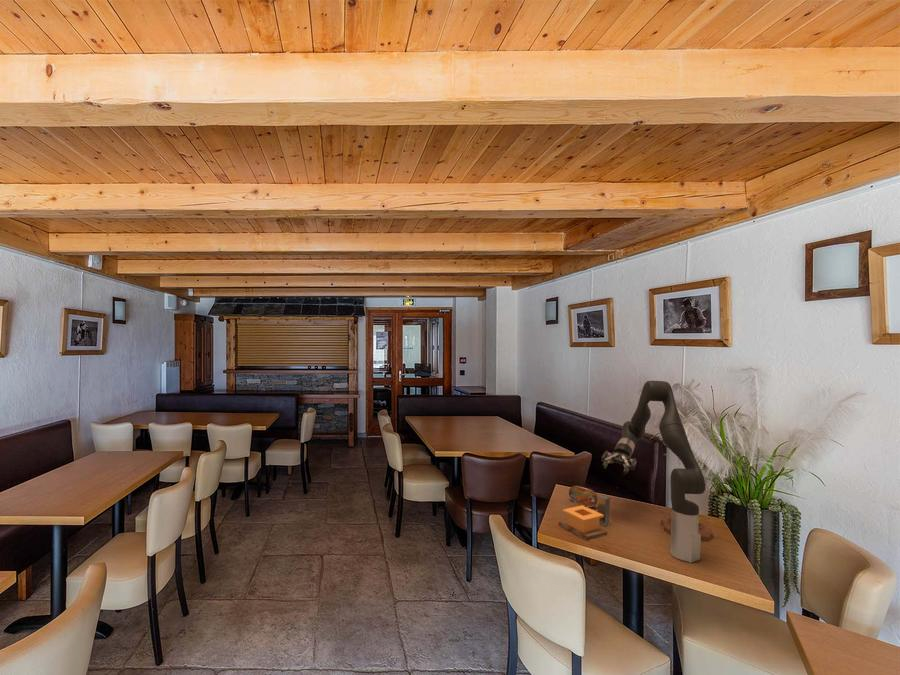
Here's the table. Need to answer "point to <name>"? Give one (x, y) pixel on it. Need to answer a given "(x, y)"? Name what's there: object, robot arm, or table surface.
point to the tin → (583, 496)
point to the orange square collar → (583, 518)
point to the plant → (703, 529)
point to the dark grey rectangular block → (604, 509)
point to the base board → (587, 534)
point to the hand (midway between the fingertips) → (614, 470)
